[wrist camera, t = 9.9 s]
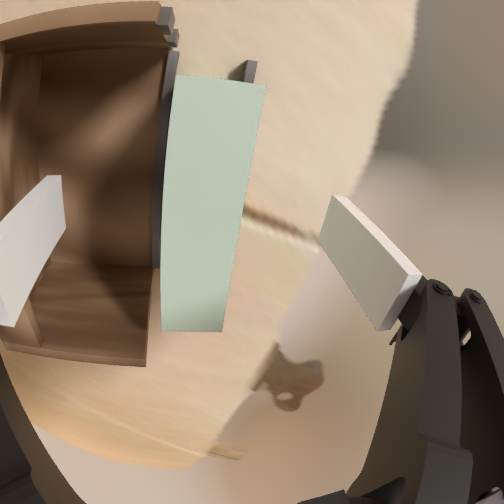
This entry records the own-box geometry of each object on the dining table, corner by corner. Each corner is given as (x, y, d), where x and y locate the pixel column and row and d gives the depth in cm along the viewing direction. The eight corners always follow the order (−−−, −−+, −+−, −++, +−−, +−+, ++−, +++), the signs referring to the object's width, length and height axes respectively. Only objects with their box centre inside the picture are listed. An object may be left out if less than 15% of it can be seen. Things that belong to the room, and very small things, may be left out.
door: (183, 78, 17) (175, 74, 9) (231, 83, 18) (266, 85, 9) (168, 235, 23) (161, 330, 15) (208, 238, 24) (221, 331, 16)
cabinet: (40, 46, 13) (-48, 43, 4) (256, 49, 17) (313, 26, 8) (48, 263, 22) (6, 349, 13) (218, 272, 26) (236, 367, 17)
